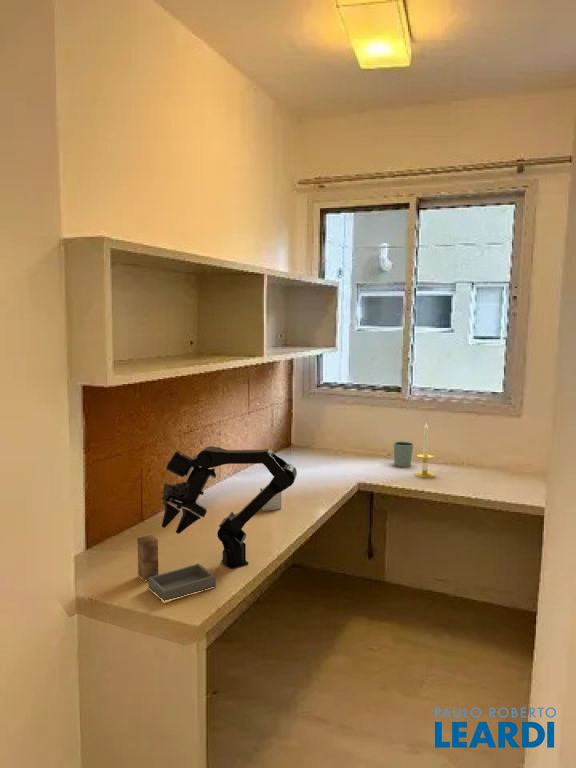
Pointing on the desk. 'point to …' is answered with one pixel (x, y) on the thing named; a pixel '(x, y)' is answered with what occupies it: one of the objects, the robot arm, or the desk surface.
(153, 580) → the tray
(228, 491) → the desk surface
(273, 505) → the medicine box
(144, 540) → the walnut block
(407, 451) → the green cup
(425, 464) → the candle
